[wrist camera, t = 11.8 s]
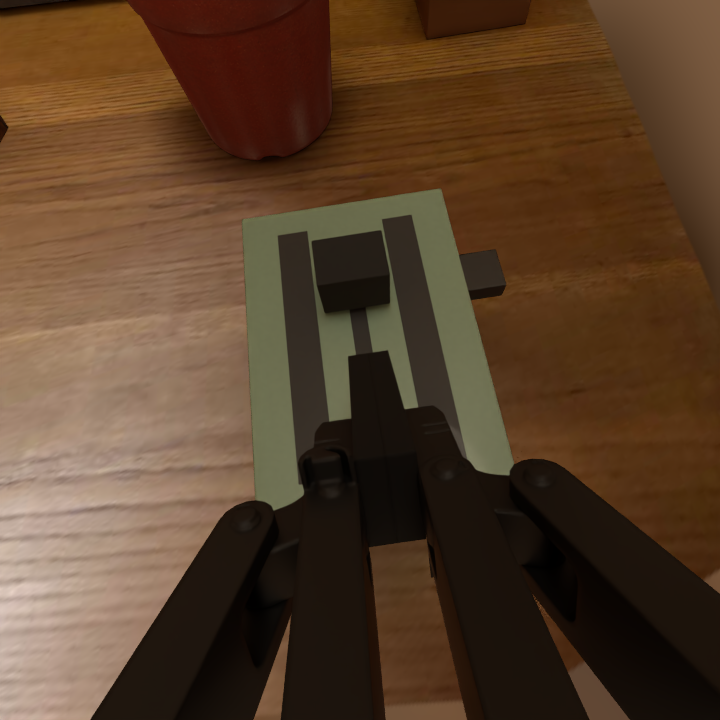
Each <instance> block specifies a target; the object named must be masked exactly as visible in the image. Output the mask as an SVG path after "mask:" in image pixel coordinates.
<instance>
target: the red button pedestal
mask: <svg viewBox="0 0 720 720" xmlns="http://www.w3.org/2000/svg"><path fill="white" fill-rule="evenodd" d="M415 2H416V5H417V8H418V12H419V15H420V18H421V22H422V25H423V29H424V32H425V35H426V39H432V38H438V37H444V36H451V35H457V34H463V33H469V32H476V31H482V30H488V29H495V28H501V27H507V26H513V25H520V24H525V22H526V18H527V14H528V10H529V6H530V2H531V0H415Z"/></svg>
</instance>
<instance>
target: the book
mask: <svg viewBox="0 0 720 720" xmlns="http://www.w3.org/2000/svg"><path fill="white" fill-rule="evenodd" d="M59 1H67V0H0V8H7V7H16V6H24V5H33V4H42V3H50V2H59Z"/></svg>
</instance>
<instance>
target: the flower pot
mask: <svg viewBox="0 0 720 720" xmlns="http://www.w3.org/2000/svg"><path fill="white" fill-rule="evenodd" d="M127 2H128V3H129V4H130V6H131V7H132V8H133V9H134V11H135V12H136V13H137V14H138V15H140V16H141V17H142V19H143V20H144V22H145V24H146V26H147V27H148V29H149V31H150V32H151V34H152V36H153V38H154V40H155V41H156V43H157V45H158V47H159V48H160V50H161V52H162V54H163V55H164V57H165V59H166V60H167V62H168V64H169V66H170V67H171V69H172V71H173V73H174V74H175V76H176V78H177V80H178V81H179V83H180V85H181V87H182V88H183V90H184V92H185V94H186V95H187V97H188V99H189V101H190V103H191V104H192V106H193V108H194V110H195V111H196V113H197V115H198V117H199V118H200V120H201V122H202V124H203V126H204V127H205V129H206V131H207V133H208V134H209V136H210V138H211V139H212V140H213V142H214V143H215V144H216V145H217V146H219V147H220V148H221V149H223V150H224V151H226V152H227V153H229V154H232V155H234V156H237V157H240V158H244V159H249V160H261V159H262V158H263V157H265V156H280V157H285V156H288V155H291V154H293V153H296V152H298V151H300V150H302V149H303V148H305V147H307V146H308V145H309V144H311V143H312V142H313V141H314V140H316V139H317V138H318V137H319V136H320V135H321V133H322V132H323V131H324V129H325V128H326V126H327V125H328V123H329V120H330V117H331V114H332V80H331V48H330V19H329V0H127Z"/></svg>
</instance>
